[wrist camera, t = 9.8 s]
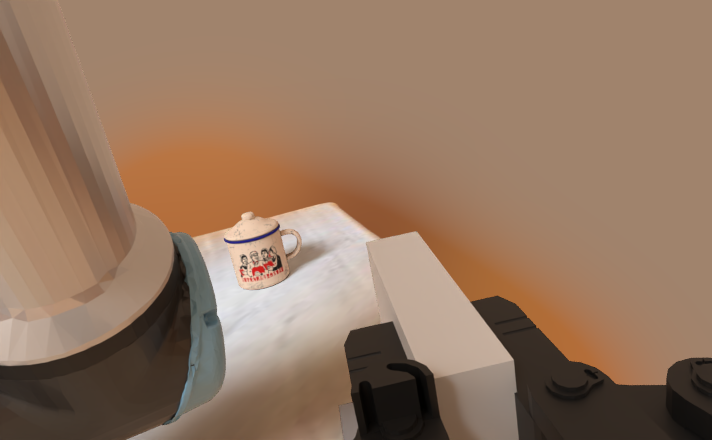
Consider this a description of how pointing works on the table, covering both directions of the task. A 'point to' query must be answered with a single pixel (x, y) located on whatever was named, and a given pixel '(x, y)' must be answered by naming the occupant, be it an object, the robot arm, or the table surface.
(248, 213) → the teacup with lid
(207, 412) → the table surface
